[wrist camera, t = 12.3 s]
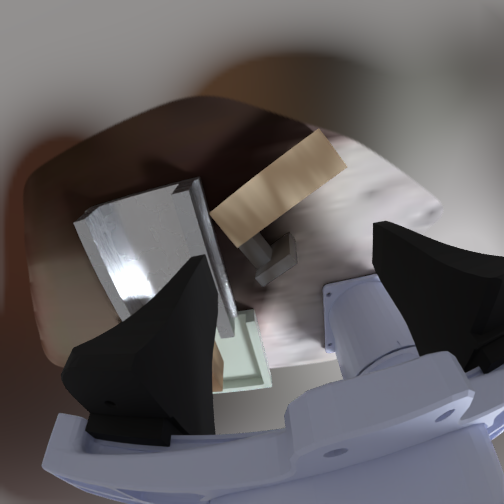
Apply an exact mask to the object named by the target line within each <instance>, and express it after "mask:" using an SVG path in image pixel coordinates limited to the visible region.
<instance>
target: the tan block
mask: <svg viewBox="0 0 504 504" xmlns="http://www.w3.org/2000/svg"><path fill="white" fill-rule="evenodd" d="M345 168H347V166H346V164H345V163H344V161H343V160H342V159H341V157H340V156H339V155H338V153H337V152H336V150H335V149H334V148H333V146H332V145H331V144H330V142H329V141H328V140H327V138H326V137H325V136H324V135H323V133H322V132H321V131H320V129H317V130H316V131H315V132H313V133H312V134H311V135H309V136H308V137H306V138H305V139H304V140H302V141H301V142H300V143H298V144H297V145H295V146H294V147H293V148H291V149H290V150H289V151H287V152H286V153H285V154H283V155H282V156H281V157H279V158H278V159H277V160H275V161H274V162H273V163H272V164H270V165H269V166H268V167H266V168H265V169H264V170H262V171H261V172H260V173H259V174H257V175H256V176H255V177H253V178H252V179H251V180H250V181H248V182H247V183H246V184H245V185H243V186H242V187H241V188H240V189H238V190H237V191H236V192H235V193H233V194H232V195H231V196H230V197H228V198H227V199H226V200H225V201H223V202H222V203H221V204H220V205H219V206H217V207H216V208H215V209H214V210H212V211H211V212H210V213H209V214H210V216H211V217H212V218H213V219H214V221H215V222H216V223H217V224H218V225H219V227H220V228H221V229H222V230H223V231H224V233H225V234H226V235H227V236H228V238H229V239H230V240H231V241H232V242H233V244H234V245H235V246H236V247H237V248H238V247H239V249H240V250H241V251H242V252H243V253H244V255H245V256H246V257H247V258H248V259H249V261H250V262H251V263H252V264H253V266H254V267H255V268H256V269H257V272H256V276H255V279H256V280H257V281H258V282H259V283H260V285H261V286H262V287H263V286H265V285H266V284H268V283H269V282H271V281H272V280H274V279H275V278H277V277H278V276H280V275H281V274H283V273H284V272H286V271H287V270H289V269H290V268H292V267H293V266H294V265H296V264H297V254H296V244H295V239H294V238H293V236H292V235H291V234H290V233H287V234H286V235H285V236H283V237H282V238H280V239H279V240H278V241H276V242H275V243H273V244H272V245H271V246H270V245H269V244H268V243H267V242H266V240H265V239H264V238H263V237H262V235H261V234H260V233H259V232H260V231H261V230H262V229H264V228H265V227H266V226H268V225H269V224H270V223H272V222H273V221H274V220H276V219H277V218H278V217H280V216H281V215H283V214H284V213H285V212H287V211H288V210H289V209H291V208H292V207H293V206H295V205H296V204H297V203H299V202H300V201H302V200H303V199H304V198H306V197H307V196H308V195H310V194H311V193H312V192H314V191H315V190H317V189H318V188H319V187H321V186H322V185H323V184H325V183H326V182H328V181H329V180H330V179H332V178H333V177H334V176H336V175H337V174H339V173H340V172H341V171H343V170H344V169H345Z"/></svg>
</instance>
